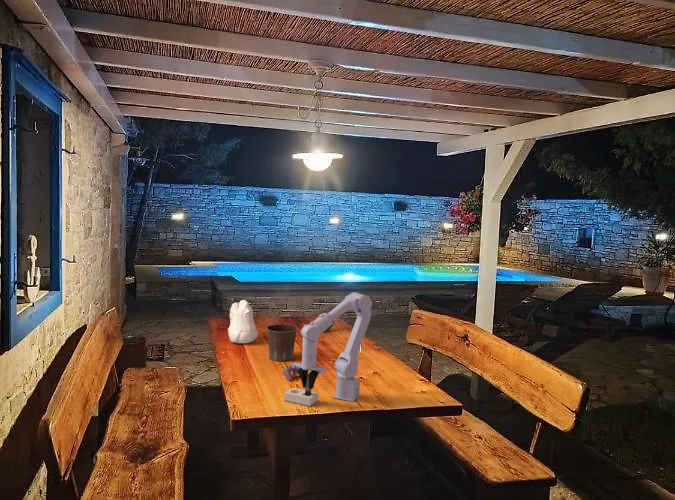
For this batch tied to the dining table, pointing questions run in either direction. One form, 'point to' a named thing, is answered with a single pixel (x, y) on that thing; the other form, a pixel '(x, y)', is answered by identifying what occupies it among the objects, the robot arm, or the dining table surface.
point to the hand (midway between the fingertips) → (308, 387)
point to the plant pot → (281, 341)
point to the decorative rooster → (242, 323)
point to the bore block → (300, 397)
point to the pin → (307, 386)
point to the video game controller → (287, 372)
